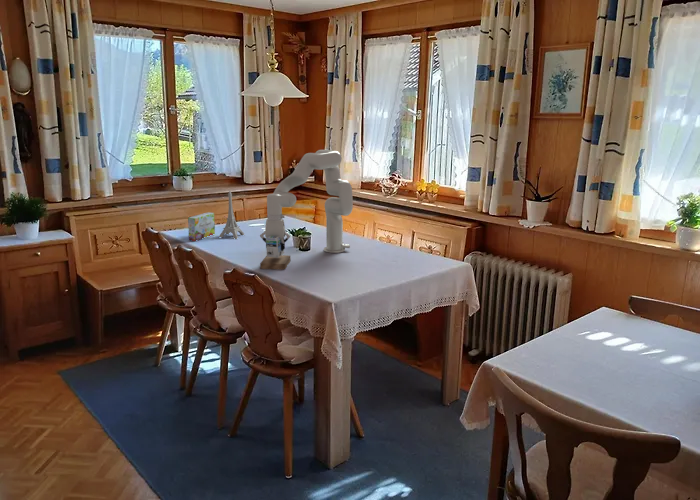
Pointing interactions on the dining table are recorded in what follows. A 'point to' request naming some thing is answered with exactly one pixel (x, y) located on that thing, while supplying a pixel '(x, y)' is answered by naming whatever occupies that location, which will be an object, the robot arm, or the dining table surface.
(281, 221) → the robot arm
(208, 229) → the snack box
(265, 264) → the podium
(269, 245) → the light bulb box
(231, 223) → the eiffel tower
